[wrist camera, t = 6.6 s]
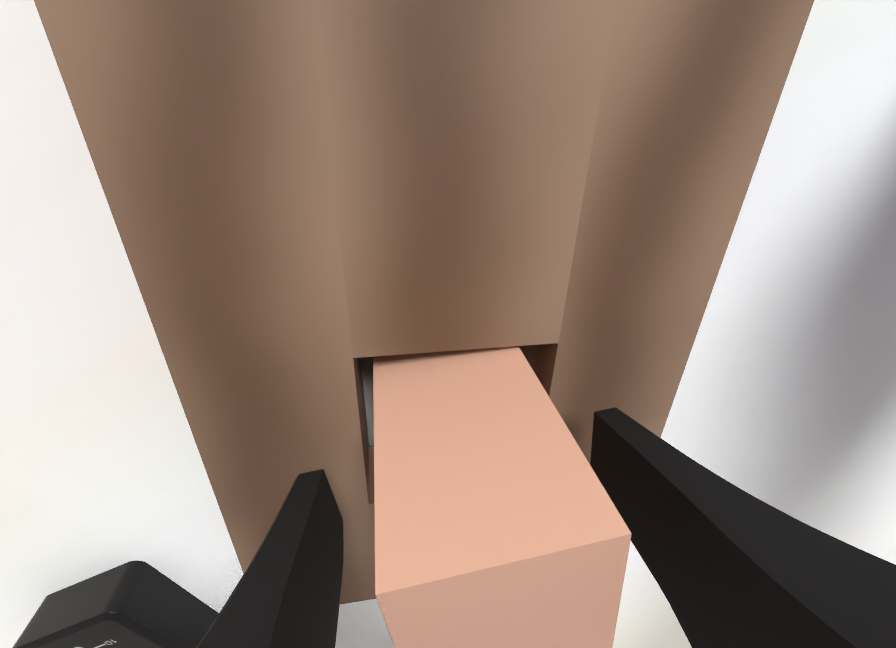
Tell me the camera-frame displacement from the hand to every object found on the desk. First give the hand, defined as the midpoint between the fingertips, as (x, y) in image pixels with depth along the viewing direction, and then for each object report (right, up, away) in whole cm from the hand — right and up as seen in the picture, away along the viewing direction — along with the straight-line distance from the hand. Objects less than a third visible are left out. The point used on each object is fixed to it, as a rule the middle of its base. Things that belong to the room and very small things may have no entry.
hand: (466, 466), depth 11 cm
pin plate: (-1, +4, +2) cm, 4 cm away
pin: (-1, +2, +3) cm, 4 cm away
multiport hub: (-12, -12, +9) cm, 19 cm away
